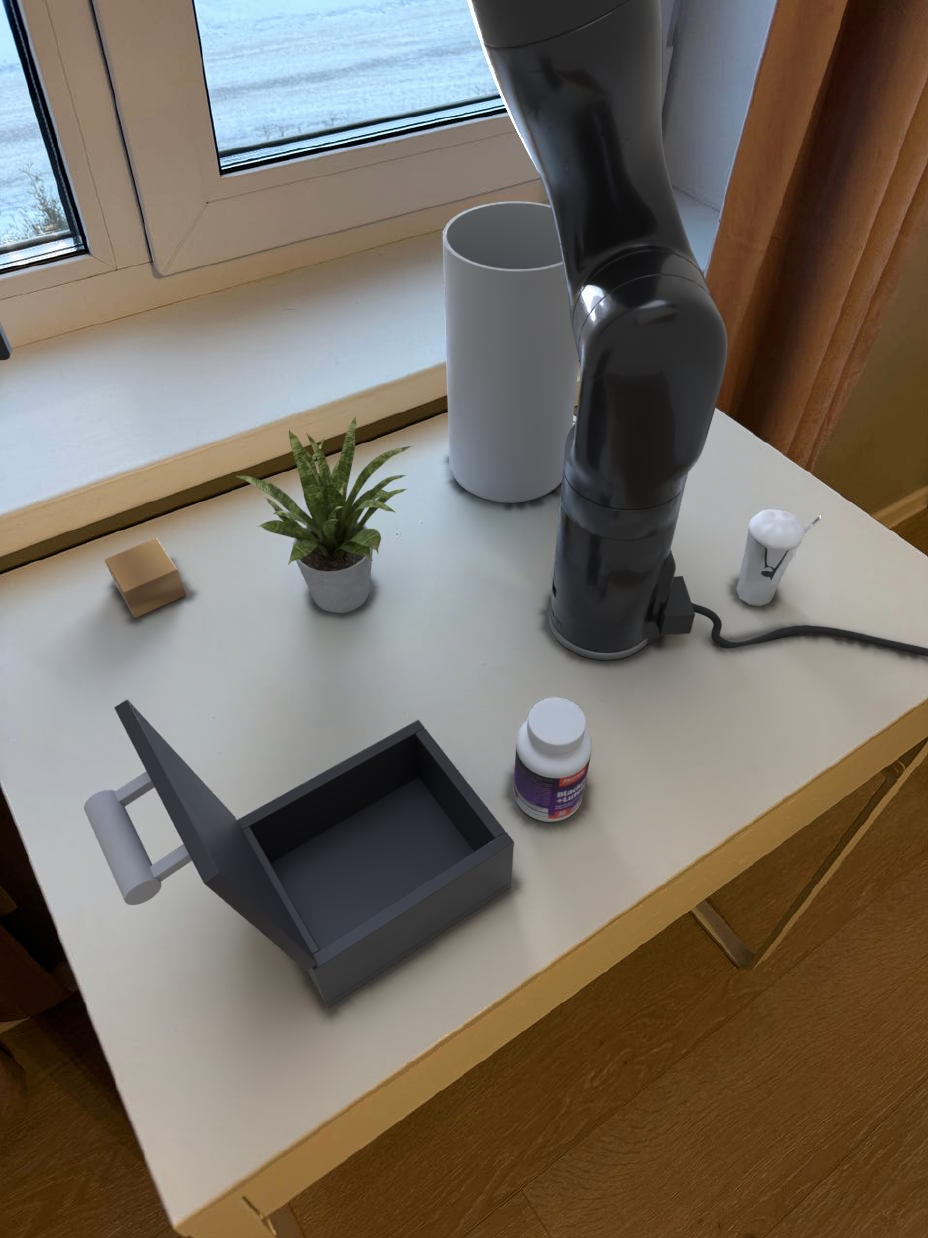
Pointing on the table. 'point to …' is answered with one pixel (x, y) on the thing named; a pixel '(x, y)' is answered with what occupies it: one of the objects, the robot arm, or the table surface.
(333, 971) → the dark grey rectangular box
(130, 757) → the table surface
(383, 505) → the house plant
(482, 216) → the cylinder vase
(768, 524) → the milkshake
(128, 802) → the lid
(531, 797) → the pill bottle
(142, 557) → the block
